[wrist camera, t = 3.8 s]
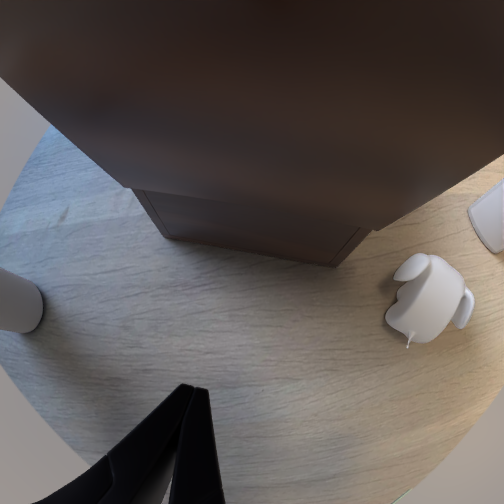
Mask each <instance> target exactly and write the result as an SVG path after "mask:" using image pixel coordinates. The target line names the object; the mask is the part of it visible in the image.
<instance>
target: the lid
mask: <svg viewBox="0 0 504 504" xmlns="http://www.w3.org/2000/svg"><path fill="white" fill-rule="evenodd" d="M0 77H1V78H2V79H3V80H4V81H5V82H6V83H7V84H8V85H9V86H10V87H11V88H13V90H15V91H16V92H17V93H18V94H19V95H20V96H21V97H22V98H23V99H24V100H25V101H26V102H28V103H29V104H30V105H31V106H32V107H33V108H34V109H35V110H36V111H37V112H38V113H40V114H41V115H42V116H43V117H44V118H45V119H46V120H47V121H48V122H50V123H51V124H52V125H53V126H54V127H55V128H56V129H57V130H59V131H60V132H61V133H62V134H63V135H64V136H65V137H66V138H68V139H69V140H70V141H71V142H72V143H73V144H74V145H75V146H77V147H78V148H79V149H80V150H81V151H82V152H83V153H85V154H86V155H87V156H88V157H89V158H90V159H92V160H93V161H94V162H95V163H96V164H97V165H98V166H100V167H101V168H102V169H103V170H104V171H105V172H107V173H108V174H109V175H110V176H111V177H112V178H114V179H115V180H116V181H117V182H118V183H119V184H121V185H122V186H123V187H124V188H132V189H140V190H147V191H155V192H162V193H169V194H176V195H183V196H189V197H196V198H202V199H209V200H215V201H221V202H228V203H234V204H240V205H246V206H251V207H257V208H263V209H269V210H274V211H280V212H285V213H291V214H296V215H301V216H306V217H312V218H317V219H322V220H327V221H332V222H337V223H342V224H347V225H352V226H356V227H361V228H366V229H371V230H375V231H379V230H381V229H382V228H384V227H386V226H388V225H389V224H391V223H393V222H395V221H396V220H398V219H400V218H401V217H403V216H405V215H406V214H408V213H410V212H412V211H413V210H415V209H417V208H418V207H420V206H422V205H423V204H425V203H427V202H428V201H430V200H432V199H433V198H435V197H437V196H438V195H440V194H442V193H443V192H445V191H446V190H448V189H450V188H451V187H453V186H455V185H456V184H458V183H459V182H461V181H463V180H464V179H466V178H467V177H469V176H471V175H472V174H474V173H475V172H477V171H478V170H480V169H482V168H483V167H485V166H486V165H488V164H489V163H491V162H492V161H494V160H496V159H497V158H499V157H500V156H502V155H503V154H504V0H0Z"/></svg>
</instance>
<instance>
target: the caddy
mask: <svg viewBox="0 0 504 504" xmlns="http://www.w3.org/2000/svg"><path fill="white" fill-rule="evenodd" d="M131 189H132V188H131ZM132 191H133V192H134V194H135V196H136V197H137V199H138V200H139V202H140V203H141V205H142V206H143V208H144V209H145V211H146V212H147V214H148V215H149V217H150V218H151V220H152V221H153V223H154V224H155V225H156V227H157V228H158V230H159V231H160V233H161V234H162V236H163V237H166V238H171V239H177V240H182V241H188V242H193V243H199V244H204V245H210V246H215V247H221V248H226V249H232V250H237V251H243V252H248V253H254V254H259V255H265V256H270V257H276V258H281V259H287V260H292V261H298V262H303V263H309V264H314V265H320V266H325V267H331V268H337V267H338V266H339V264H340V263H341V262H342V261H343V260H344V259H345V258H346V257H347V256H348V255H349V254H350V253H351V252H352V251H353V250H354V249H355V248H356V247H357V246H358V245H359V244H360V243H361V242H362V241H363V240H364V239H365V238H366V237H367V236H368V234H369V233H370V232H371V231H372V230H371V229H366V228H361V227H356V226H352V225H347V224H342V223H337V222H332V221H327V220H322V219H317V218H312V217H306V216H301V215H296V214H291V213H285V212H280V211H274V210H269V209H263V208H257V207H251V206H246V205H240V204H234V203H228V202H221V201H215V200H209V199H202V198H196V197H189V196H183V195H176V194H169V193H162V192H155V191H147V190H140V189H132Z"/></svg>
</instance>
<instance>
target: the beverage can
mask: <svg viewBox="0 0 504 504" xmlns="http://www.w3.org/2000/svg"><path fill="white" fill-rule="evenodd" d="M42 312H43V302H42V297H41V294H40V292H39V290H38V288H37V287H36V285H35V284H34V283H33V282H31V281H30V280H27V279H25V278H23V277H20V276H18V275H16V274H14V273H11V272H9V271H7V270H5V269H3V268H1V267H0V329H1V330H6V331H11V332H17V333H27V332H30V331H32V330H33V329H35V328H36V326H37V325H38V323H39V322H40V319H41V317H42Z"/></svg>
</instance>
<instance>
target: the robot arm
mask: <svg viewBox="0 0 504 504" xmlns="http://www.w3.org/2000/svg"><path fill="white" fill-rule="evenodd" d="M172 476H173V477H172ZM171 478H172V484H171V490H170V497H169V504H226V503H225V498H224V492H223V489H222V481H221V475H220V469H219V463H218V456H217V450H216V443H215V436H214V429H213V422H212V414H211V407H210V399H209V391H208V390H207V389H204V388H200V387H195V388H194V386H192V385H187V384H180V385H179V386H178V387H177V388H176V389H175V390H174V391H173V392H172V393H171V394H170V395H169V396H168V397H167V398H166V399H165V400H164V401H163V402H161V403H160V404H159V405H158V406H157V407H156V408H155V409H154V410H153V411H152V412H151V413H150V414H149V415H148V416H147V417H146V418H145V419H144V420H143V421H142V422H140V423H139V424H138V425H137V426H136V427H135V428H134V429H133V430H132V431H131V432H130V433H129V434H128V435H127V436H126V437H124V438H123V439H122V440H121V441H120V442H119V443H118V444H117V445H116V446H115V447H114V448H112V449H111V450H110V451H109V452H108V453H107V455H105V456H104V457H102V458H101V459H100V460H99V461H98V462H97V463H96V464H94V465H93V466H92V467H91V468H90V469H88V470H87V471H86V472H85V473H83V474H82V475H81V476H79V477H77V478H76V479H75V480H73V481H72V482H70V483H68V484H67V485H65V486H64V487H62V488H61V489H59V490H58V491H56V492H54V493H53V494H51V495H49V496H48V497H46V498H44V499H43V500H40V501H38V502H35V503H32V504H161V503H162V500H163V498H164V495H165V493H166V490H167V488H168V485H169V483H170V481H171Z"/></svg>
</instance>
